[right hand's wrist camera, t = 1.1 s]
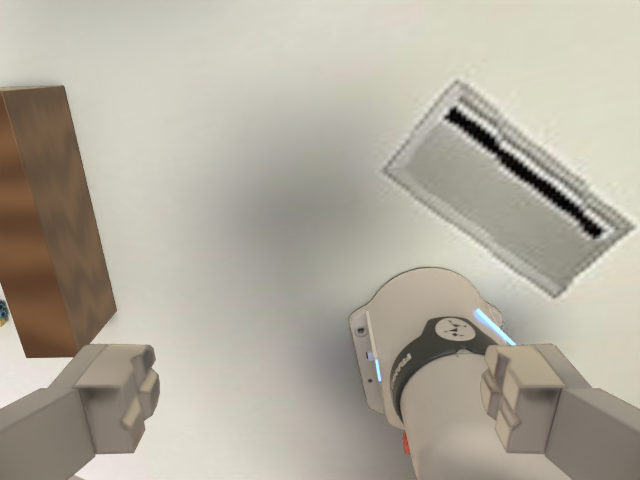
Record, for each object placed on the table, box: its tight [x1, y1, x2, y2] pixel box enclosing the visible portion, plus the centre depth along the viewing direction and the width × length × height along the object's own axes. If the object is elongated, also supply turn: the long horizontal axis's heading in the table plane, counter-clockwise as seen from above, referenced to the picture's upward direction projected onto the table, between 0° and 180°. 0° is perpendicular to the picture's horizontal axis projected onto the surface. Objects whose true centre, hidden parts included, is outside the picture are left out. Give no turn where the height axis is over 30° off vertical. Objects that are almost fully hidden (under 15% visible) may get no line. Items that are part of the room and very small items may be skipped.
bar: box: [0, 86, 117, 358], centre depth 44 cm, size 26×6×9 cm, turn 1°
